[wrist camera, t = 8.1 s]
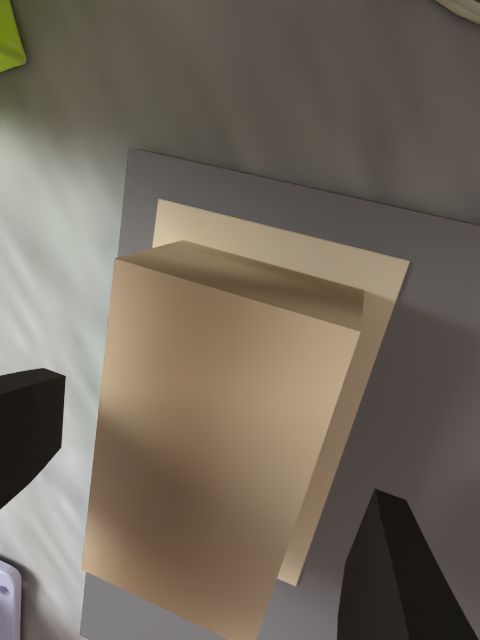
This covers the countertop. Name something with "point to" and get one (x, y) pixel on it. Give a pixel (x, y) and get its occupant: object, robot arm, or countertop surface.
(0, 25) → the box
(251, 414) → the card box
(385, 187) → the countertop surface
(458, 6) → the coffee can
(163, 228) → the mat
